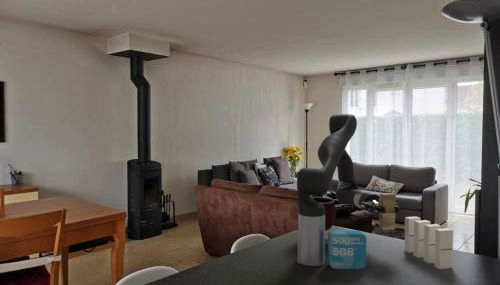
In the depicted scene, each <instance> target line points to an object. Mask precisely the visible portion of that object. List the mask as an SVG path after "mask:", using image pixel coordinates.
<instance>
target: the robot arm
mask: <svg viewBox="0 0 500 285" xmlns="http://www.w3.org/2000/svg"><path fill="white" fill-rule="evenodd" d="M357 126H358V121H357V118H356V116H355V115H354V114H351V113H345V114H344V113H342V114H340V113H339V114H332V115H331V116H330V118H329V121H328V127H329V128H328V129H329V135H328V136H326V137H325V138H324V139H323V141H322V142H321V143H320V146H319V147H318V149H317V157H318V160H319V162H320V163H321V165H322V167H321V168H313V167H308V168H307V167H302V168H300V169H299V170H298V173H297V176H296V191H297V192H296V193H297V209H298V235H297V264H301V265H304V266H308V267H319V266H322V265H324V264H325V263H326V262H325V260H326V254H325V252H326V248H325V247H326V245H325V235H326V231H325V207H324V206H323V205H322V204H320V203H318V202H316V201H315V200H313V199H312V198H311V196H324V195H326V194H327V193H328V191H329V190H330V186H331V185H332V184H331V183H332V180H333V178H334V176H335V175H334V174H335V171H336V169H337V179H338V181H339V182H340V183H348V185H346V186H342V187H339V188H337V189H336V190H335V198H336V200H337V201H338V203H340V204H342V205H351V206H355V207H358V208H359V209H361V210H363V211H366V212H368V213H371V214H372V213H373V214H374V213H378V212H381V213H386V208H385V207H383V206H380V195H378V194H376V193H373V192H370V191H366V190H361V189H359V185H358V184H357V181H356V177H355V170H354V169H355V168H354V163H353V159H352V157H351V156H350V154H349V153H348V151H347V150H346V147H347V145H348V144H349V142H350V141H351V139H352V138H353V136H354V135H355V133H356V131H357V128H358V127H357ZM310 195H311V196H310ZM400 211H401V210H400V206H398V203H397V202H396V205H395V214H396V213H397V214H398V213H400Z"/></svg>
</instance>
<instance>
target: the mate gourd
mask: <svg viewBox="0 0 500 285" xmlns="http://www.w3.org/2000/svg"><path fill="white" fill-rule="evenodd" d="M310 196H311V198H312V199H313V200H315V201H316V202H318V203H320V204H322V205H323V206H324V207H325V232H326V231H329V230H330V229H332V227H333V226H334V224H335V221H336V216H337V214H336V211H337V210H336V204H335V199H333V198H331V197H322V196H313V195H310ZM326 245H327V246H328V235H326V234H325V246H326Z"/></svg>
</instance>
